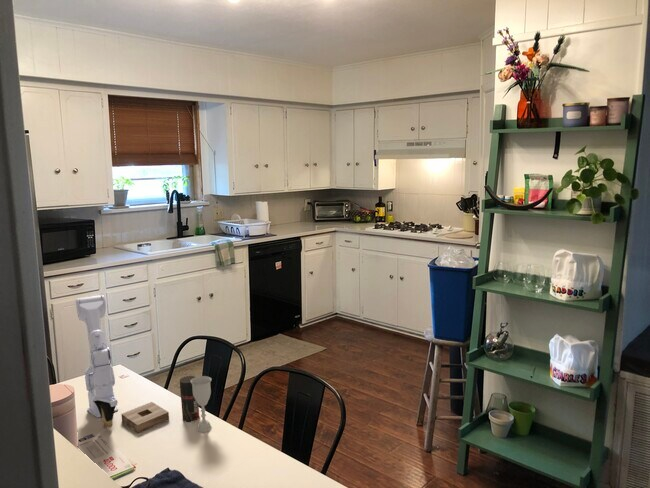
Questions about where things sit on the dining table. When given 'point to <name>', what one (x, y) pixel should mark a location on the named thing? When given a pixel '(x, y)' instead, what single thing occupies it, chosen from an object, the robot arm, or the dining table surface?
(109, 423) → the pin
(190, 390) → the deodorant
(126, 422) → the socket block
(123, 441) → the dining table surface
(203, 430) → the chalice
